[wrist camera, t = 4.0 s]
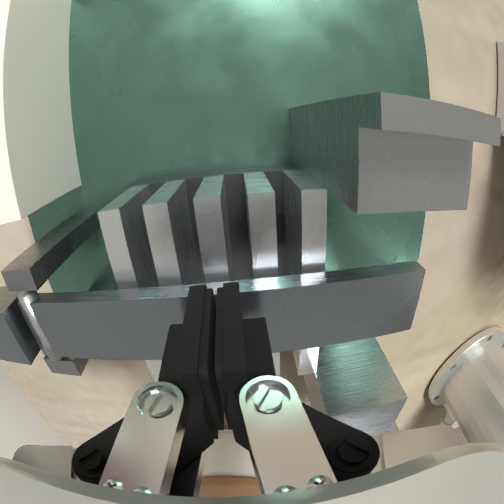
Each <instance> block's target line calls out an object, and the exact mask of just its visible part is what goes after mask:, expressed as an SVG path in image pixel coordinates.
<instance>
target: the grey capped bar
mask: <svg viewBox="0 0 504 504" xmlns="http://www.w3.org/2000/svg"><path fill="white" fill-rule="evenodd" d="M424 274H425V269H424V268H423V267H422V266H421V265H420V264H419V263H418V262H417V261H409V262H401V263H393V264H385V265H377V266H369V267H361V268H352V269H344V270H335V271H326V272H317V273H308V274H298V275H289V276H279V277H268V278H258V279H247V280H236V281H225V282H213V283H201V284H189V285H176V286H162V287H148V288H133V289H117V290H100V291H81V292H60V293H37V291H36V290H35V291H9V290H8V288H7V287H0V359H1V360H6V361H11V362H17V363H23V364H29V365H31V364H32V363H33V361H34V359H35V358H36V356H37V354H38V353H39V351H40V349H41V350H42V351H43V353H44V355H47V356H48V357H49V359H50V360H51V361H59V360H61V359H62V358H63V357H74V358H90V359H113V360H162V358H163V353H164V349H165V344H166V339H167V335H168V330H169V327H170V325H171V324H183V320H184V314H185V309H186V303H187V298H188V293H189V288H190V286H194V285H206V286H207V289H208V288H212V289H213V293H214V300H215V306H216V304H217V288H220V287H223V283H229V282H239V288H240V297H241V307H242V316H243V319H248V318H258V317H265V319H266V324H267V330H268V335H269V340H270V346H271V351H272V353H277V352H286V351H294V350H301V349H308V348H315V347H322V346H328V345H334V344H340V343H346V342H351V341H357V340H362V339H367V338H372V337H377V336H382V335H387V334H391V333H396V332H400V331H404V330H409V329H410V328H411V324H412V321H413V318H414V314H415V311H416V307H417V303H418V299H419V295H420V291H421V287H422V283H423V279H424Z"/></svg>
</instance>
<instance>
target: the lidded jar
mask: <svg viewBox="0 0 504 504" xmlns="http://www.w3.org/2000/svg"><path fill="white" fill-rule="evenodd" d="M253 495H261V492H260V489H259V486H258V482H257V479H256V476H255V472H254V469H253V465H252V462H251V458H250V455H249V451H248V450H246V449H245V448H243V447H242V446H241V445H239V444H238V443H236V442H235V438H234V434H233V431H232V430H229V429H224V430H218V439H214V443H213V444H212V445H211V446H210V447H209V448H207V449H206V460H205V465H204V470H203V476H202V481H201V486H200V492H199V497H237V496H253Z"/></svg>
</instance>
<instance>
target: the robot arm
mask: <svg viewBox="0 0 504 504" xmlns="http://www.w3.org/2000/svg"><path fill="white" fill-rule="evenodd" d="M428 396H429V399H430V400H431V402H432V404H434V405H437V406H444V407H445V408H446V411H445V415H444V417H443V418H442V420H441V421H440V422H439V424H438V425H434V426H428V427H422V428H416V429H408V430H400V431H391V432H382V433H381V435H377V436H370V435H368V434H367V433H365V432H363V431H361V430H358V429H356V428H354V427H352V426H349V425H347V424H345V423H343V422H341V421H338V420H336V419H334V418H332V417H330V416H328V415H326V414H324V413H322V412H320V411H318V410H316V409H314V408H312V407H310V406H308V405H306V404H304V403H302V402H301V401H300V399H299V396H298V394H297V392H296V390H295V388H294V387H293V385H292V384H291V383H290V382H288V381H287V380H286V379H284V378H281V377H278V376H276V373H275V368H274V362H273V357H272V351H271V346H270V340H269V335H268V330H267V324H266V319H265V317H258V318H248V319H243V316H242V307H241V297H240V288H239V282H229V283H223V287H220V288H217V304H216V306H215V300H214V293H213V289H212V288H208V289H207V286H206V285H194V286H190V288H189V293H188V298H187V303H186V309H185V314H184V320H183V324H171V325H170V327H169V330H168V335H167V339H166V344H165V349H164V353H163V358H162V363H161V368H160V373H159V378H158V382H153V383H149V384H147V385H145V386H143V387H141V388H140V389H139V390H138V391H137V392H136V393H135V395H134V397H133V399H132V401H131V403H130V406H129V408H128V410H127V413H126V415H125V417H124V418H123V419H121V420H120V421H118V422H116V423H115V424H113V425H112V426H110V427H109V428H107V429H106V430H104V431H102V432H101V433H99V434H98V435H96V436H94V437H93V438H91V439H90V440H88V441H86V442H85V443H83V444H82V445H81V446H79V447H78V448H73V447H72V446H40V445H24V446H22V447H20V448H18V449H17V451H16V452H15V454H14V457H13V460H10V459H7V458H2V457H0V504H504V331H503V330H502V329H501V328H499V327H491V328H488V329H485V330H483V331H481V332H480V333H478V334H476V335H475V336H473V337H472V338H470V339H469V340H468V341H467V342H465V343H464V344H463V345H462V346H461V347H460V348H459V349H458V350H456V351H455V352H454V353H453V354H452V355H451V356H450V358H449V359H448V360H447V361H446V362H445V363H444V364H443V366H442V367H441V368H440V369H439V371H438V372H437V373H436V375H435V377H434V378H433V380H432V382H431V384H430V387H429V391H428ZM224 412H225V416H226V420H227V424H228V427H229V430H232V431H233V434H234V438H235V442H236V443H238V444H239V445H241V446H242V447H243V448H245V449H246V450H248V451H249V455H250V458H251V462H252V465H253V469H254V472H255V476H256V479H257V482H258V486H259V489H260V492H261V495H253V496H237V497H199V492H200V486H201V481H202V476H203V470H204V465H205V460H206V449H207V448H209V447H210V446H211V445H212V444H213V443H214V439H218V430H224ZM455 421H457V423H458V425H459V426H460V428H461V430H462V432H463V434H464V436H465V437H466V439H467V441H468V443H469V444H463V445H462V444H461V440H460V437H459V435H458V433H457V431H456V430H455V429H453V428H452V427H451V425H452V424H453V423H454V422H455Z"/></svg>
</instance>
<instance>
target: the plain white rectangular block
mask: <svg viewBox="0 0 504 504" xmlns="http://www.w3.org/2000/svg"><path fill="white" fill-rule="evenodd" d="M71 1H72V0H0V225H1V224H5V223H9V222H13V221H17V220H21V219H23V218H25V217H26V216H28V215H29V214H31V213H33V212H34V211H36V210H38V209H39V208H41V207H43V206H44V205H46V204H48V203H50V202H51V201H53V200H55V199H57V198H58V197H60V196H62V195H64V194H66V193H67V192H69V191H71V190H73V189H75V188H77V187H79V186H81V185H82V184H81V178H80V173H79V167H78V161H77V154H76V148H75V140H74V132H73V123H72V113H71V101H70V84H69V28H70V12H71Z"/></svg>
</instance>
